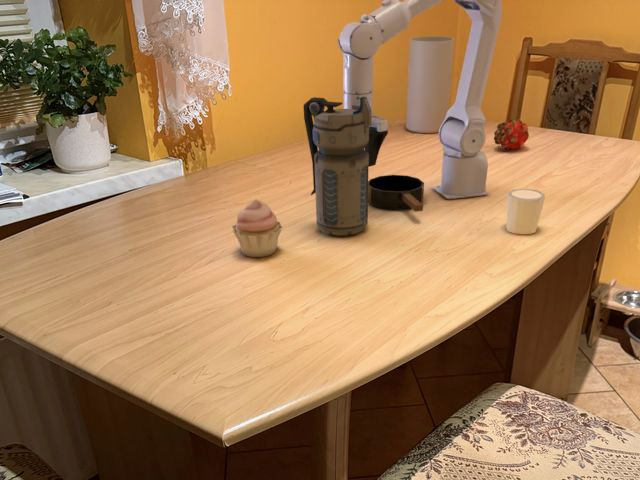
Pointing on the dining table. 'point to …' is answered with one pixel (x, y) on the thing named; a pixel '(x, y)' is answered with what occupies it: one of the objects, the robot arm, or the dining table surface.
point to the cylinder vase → (429, 83)
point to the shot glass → (523, 210)
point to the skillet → (396, 192)
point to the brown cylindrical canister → (339, 164)
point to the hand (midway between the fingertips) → (357, 161)
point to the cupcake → (257, 230)
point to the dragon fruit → (511, 134)
